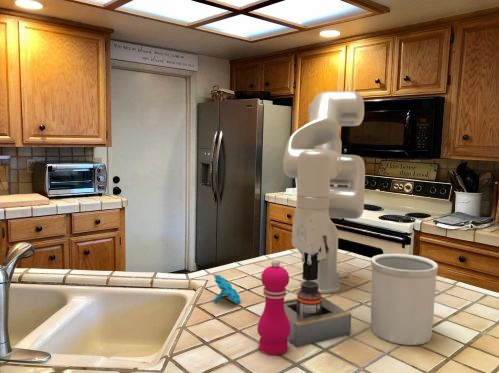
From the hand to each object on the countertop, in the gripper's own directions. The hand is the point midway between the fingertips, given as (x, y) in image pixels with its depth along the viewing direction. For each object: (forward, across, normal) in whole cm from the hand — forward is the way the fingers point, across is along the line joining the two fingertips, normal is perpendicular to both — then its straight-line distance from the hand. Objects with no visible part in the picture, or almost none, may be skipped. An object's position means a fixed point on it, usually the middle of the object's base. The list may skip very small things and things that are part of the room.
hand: (310, 279), depth 99 cm
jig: (+12, 0, 0) cm, 13 cm away
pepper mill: (+13, +5, -12) cm, 18 cm away
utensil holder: (+13, +10, +20) cm, 25 cm away
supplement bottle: (+13, 0, 0) cm, 13 cm away
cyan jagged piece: (+13, -24, -11) cm, 29 cm away
